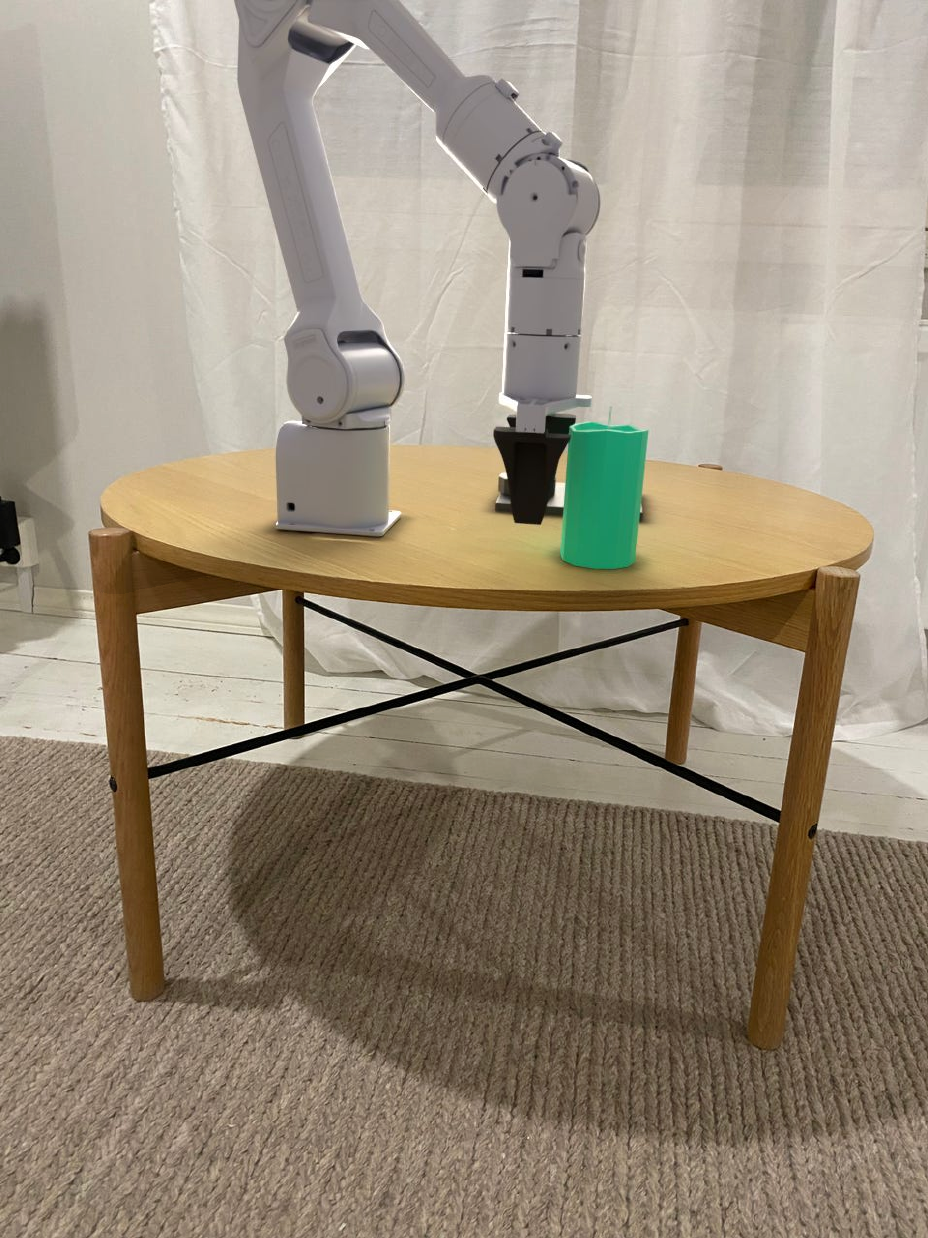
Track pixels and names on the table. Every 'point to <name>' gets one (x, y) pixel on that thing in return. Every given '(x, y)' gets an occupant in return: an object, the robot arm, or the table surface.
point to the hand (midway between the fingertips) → (532, 512)
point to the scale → (554, 503)
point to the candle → (603, 494)
